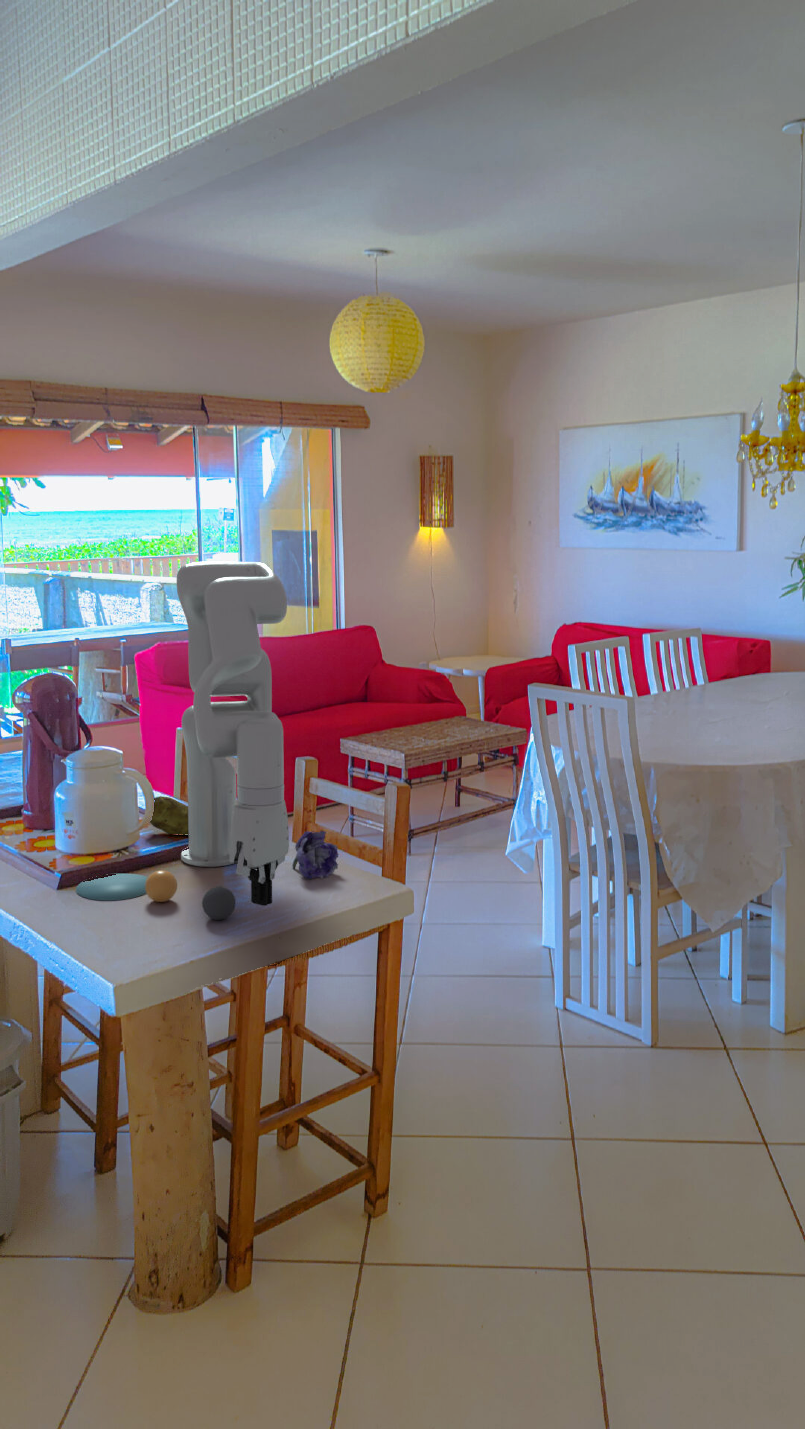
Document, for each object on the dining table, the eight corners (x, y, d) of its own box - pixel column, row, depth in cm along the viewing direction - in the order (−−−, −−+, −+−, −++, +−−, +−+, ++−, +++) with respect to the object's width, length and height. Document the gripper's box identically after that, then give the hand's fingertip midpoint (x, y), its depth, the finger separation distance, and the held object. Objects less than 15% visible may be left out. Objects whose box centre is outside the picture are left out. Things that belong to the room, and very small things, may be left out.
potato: (192, 842, 225) (191, 805, 223) (138, 835, 229) (137, 799, 227) (211, 831, 233) (210, 796, 231) (159, 825, 237) (158, 790, 235)
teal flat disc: (92, 873, 205) (92, 872, 205) (163, 876, 204) (163, 875, 204) (64, 898, 191) (64, 897, 191) (141, 902, 190) (141, 901, 190)
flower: (270, 839, 206) (312, 823, 203) (296, 846, 214) (337, 831, 210) (277, 885, 203) (320, 869, 199) (302, 891, 210) (345, 876, 206)
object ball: (150, 894, 194) (150, 865, 193) (181, 896, 193) (180, 866, 192) (141, 905, 188) (140, 875, 187) (172, 907, 188) (171, 876, 187)
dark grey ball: (207, 911, 186) (206, 881, 185) (238, 913, 186) (238, 882, 185) (198, 923, 181) (198, 892, 180) (231, 925, 180) (231, 893, 179)
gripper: (273, 783, 182) (274, 887, 185) (211, 800, 169) (213, 911, 172) (307, 789, 178) (308, 895, 181) (246, 807, 165) (248, 920, 168)
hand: (261, 902), depth 176 cm, fingers closed
